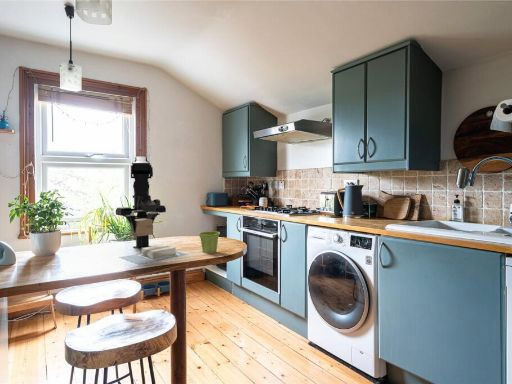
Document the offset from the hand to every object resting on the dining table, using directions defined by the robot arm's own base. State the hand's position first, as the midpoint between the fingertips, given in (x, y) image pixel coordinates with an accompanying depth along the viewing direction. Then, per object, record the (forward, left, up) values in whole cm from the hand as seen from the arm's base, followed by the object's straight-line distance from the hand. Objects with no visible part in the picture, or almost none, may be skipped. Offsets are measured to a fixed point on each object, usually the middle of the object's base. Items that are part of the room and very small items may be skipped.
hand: (142, 231), depth 126 cm
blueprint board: (+1, +5, -11) cm, 12 cm away
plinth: (+1, +7, -11) cm, 13 cm away
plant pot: (+11, +26, -12) cm, 30 cm away
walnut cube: (0, 0, -1) cm, 1 cm away
